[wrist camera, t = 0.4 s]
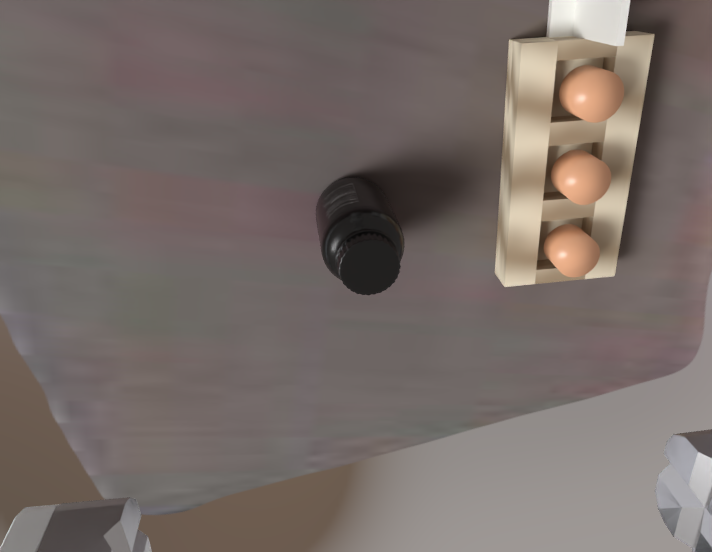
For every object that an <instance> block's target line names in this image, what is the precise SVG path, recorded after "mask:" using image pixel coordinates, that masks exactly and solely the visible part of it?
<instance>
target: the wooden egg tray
mask: <svg viewBox="0 0 712 552" xmlns="http://www.w3.org/2000/svg"><path fill="white" fill-rule="evenodd" d="M654 35H655V34H651V33H645V32H639V31H626V34H625V41H624V46H613V45H609V44H604V43H600V42H596V41H591V40H587V39H583V38H578V37H574V36H567V37H552V38H548V37H539V38H525V39H510V40H509V51H508V67H507V83H506V100H505V116H504V132H503V149H502V165H501V181H500V197H499V214H498V230H497V246H496V263H495V274H496V275H497V277H498V278H499V280H500V281H501V283H502V284H503V285H504V287H509V286H519V285H529V284H540V283H550V282H560V281H570V280H580V279H590V278H600V277H610V276H615V271H616V265H617V258H618V252H619V246H620V240H621V234H622V228H623V222H624V216H625V210H626V204H627V198H628V192H629V186H630V180H631V174H632V168H633V162H634V156H635V150H636V144H637V138H638V132H639V126H640V120H641V114H642V108H643V102H644V95H645V89H646V83H647V77H648V71H649V65H650V59H651V53H652V47H653V41H654ZM583 65H592V66H595V67H598V68H601V69H605V70H608V71H611V72H613V73H615V74H617V75H618V76H619V77H620V79H621V80H622V82H623V85H624V97H623V101H622V103H621V106H620V107H619V109H618V110H617V111H616V113H615V114H614V115H612V116H611V117H610V118H608V119H607V120H605V121H602V122H598V123H591V122H587V121H585V120H583V119H581V118H579V117H577V116H575V115H573V114H571V113H569V112H567V111H566V110H565V109H564V108H563V107H562V105H561V102H560V99H559V91H560V86H561V84H562V82H563V80H564V78H565V77H566V76H567V74H568V73H569V72H571V71H572V70H573V69H575V68H577V67H579V66H583ZM578 149H579V150H584V151H586V152H588V153H589V154H591V155H593V156H594V157H596V158H598V159H599V160H601V161H603V162H604V163H605V164H607V166H608V167H609V169H610V171H611V184H610V186H609V189H608V190H607V192H606V193H605V195H604V196H603V197H602V198H600V199H599V200H598V201H596V202H594V203H591V204H588V205H579V204H576V203H574V202H572V201H571V200H570V199H568V198H567V197H566V196H565V195H563V194H562V193H561V192H560V191H558V190H557V189H556V188H555V187H554V185H553V183H552V180H551V171H552V168H553V165H554V163H555V162H556V160H557V159H558V158H559V157H560V156H561V155H563V154H564V153H566V152H568V151H571V150H578ZM564 224H573V225H576V226H578V227H579V228H581V229H582V230H583V231H584V232H585V233H586V234H588V235H589V236H590V237H591V238H592V239H593V240H594V241H596V243H597V244H598V246H599V248H600V257H599V260H598V263H597V264H596V266H595V267H594V268H593V269H592V270H591V271H590V272H588V273H587V274H585V275H583V276H580V277H567V276H565V275H563V274H562V273H561V272H560V271H559V270H558V269H557V268H556V267H555V266H554V265H553V263H552V262H551V261H550V260H549V259H548V258H547V257H546V255H545V253H544V242H545V239H546V237H547V236H548V234H549V233H550V232H551V231H552V230H553V229H555V228H557V227H558V226H561V225H564Z"/></svg>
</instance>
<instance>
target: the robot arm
mask: <svg viewBox="0 0 712 552" xmlns="http://www.w3.org/2000/svg"><path fill="white" fill-rule="evenodd" d="M664 455H665V456H666V457H667V459H668V460H669V462H670V464H669V465H668V466H667V467H666V468H665V469H664V470H663V471H662V472H661V473H660V474H659V475H658V479H657V485H656V489H655V493H656V498H657V504H658V509H659V511H660V514H661V516H662V519H663V521H664V523H665V525H666V526H667V528H668V529H669V531H670V532H671V534H672V535H673V537H675V538H676V539H678V540H680V541H681V542H683V543H684V544H686V545H688V546H689V547H691V548H692V552H712V430H704V431H696V432H688V433H680V434H673V436H671V438H670V439H669V440H668V441H667V444H666V447H665V451H664ZM140 518H141V512H140V510H139V507H138V504H137V501H136V499H134V498H130V497H129V498H118V499H107V500H96V501H86V502H75V503H63V504H59V505H48V506H38V507H26V508H24V509H23V510H22V511H21V512H20V513H19V514H18V515H17V516H16V517H15V519H14V521H13V523H12V525H11V527H10V529H9V531H8V533H7V535H6V537H5V539H4V541H3V543H2V545H1V547H0V552H152V551H151V546H150V542H149V539H148V536H147V535H145V534H144V533H142V532H141V531H139V530H138V526H139V522H140Z"/></svg>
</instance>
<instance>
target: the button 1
mask: <svg viewBox="0 0 712 552" xmlns="http://www.w3.org/2000/svg"><path fill="white" fill-rule="evenodd" d="M544 253H545V255H546V257H547V258H548V259H549V260H550V261H551V262H552V263H553V265H554V266H555V267H556V268H557V269H558V270H559V271H560V272H561V273H562V274H563V275H565V276H567V277H580V276H583V275H585V274H587V273H588V272H590V271H591V270H592V269H593V268H594V267H595V266H596V264H597V263H598V260H599V257H600V248H599V246H598V244H597V243H596V241H594V240H593V239H592V238H591V237H590V236H589V235H588V234H586V233H585V232H584V231H583V230H582V229H581V228H579V227H578V226H576V225H573V224H564V225H561V226H558V227H557V228H555V229H553V230H552V231H551V232H550V233H549V234H548V236H547V237H546V239H545V242H544Z"/></svg>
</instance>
